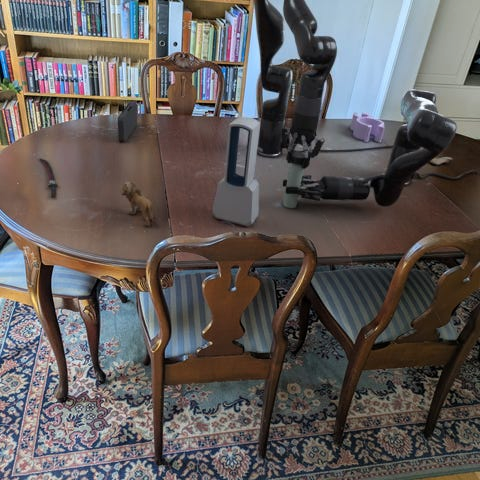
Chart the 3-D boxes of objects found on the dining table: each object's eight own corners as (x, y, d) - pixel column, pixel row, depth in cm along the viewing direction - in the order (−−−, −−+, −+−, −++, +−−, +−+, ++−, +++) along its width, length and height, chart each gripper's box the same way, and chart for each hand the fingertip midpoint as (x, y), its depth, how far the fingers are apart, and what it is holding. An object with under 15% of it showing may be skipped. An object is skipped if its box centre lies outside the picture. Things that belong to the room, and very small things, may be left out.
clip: (343, 126, 223) (346, 112, 219) (367, 127, 225) (371, 113, 221) (360, 142, 206) (364, 127, 202) (386, 142, 209) (390, 127, 205)
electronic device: (258, 217, 142) (270, 121, 125) (250, 229, 135) (262, 130, 119) (220, 208, 144) (227, 113, 128) (210, 219, 138) (217, 120, 122)
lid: (307, 161, 144) (309, 154, 142) (301, 166, 140) (303, 159, 139) (293, 157, 145) (295, 150, 144) (287, 161, 142) (288, 154, 140)
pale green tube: (289, 200, 153) (298, 154, 144) (298, 206, 150) (308, 159, 142) (280, 203, 151) (288, 156, 142) (289, 209, 148) (298, 161, 139)
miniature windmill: (295, 130, 212) (306, 61, 195) (276, 127, 213) (286, 58, 196) (297, 124, 219) (308, 57, 203) (279, 121, 220) (288, 54, 204)
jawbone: (444, 169, 189) (445, 165, 188) (396, 154, 200) (397, 150, 198) (451, 162, 195) (453, 157, 194) (405, 147, 205) (406, 143, 204)
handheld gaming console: (131, 122, 200) (130, 99, 195) (137, 123, 200) (136, 100, 195) (117, 142, 181) (116, 117, 175) (124, 142, 181) (123, 117, 176)
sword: (61, 197, 141) (61, 193, 140) (50, 198, 139) (50, 194, 139) (49, 160, 164) (48, 156, 163) (39, 160, 163) (39, 157, 162)
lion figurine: (118, 210, 138) (116, 182, 133) (132, 204, 141) (131, 177, 137) (151, 229, 130) (150, 201, 126) (165, 223, 134) (165, 195, 129)
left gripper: (279, 106, 135) (271, 161, 144) (323, 120, 128) (311, 176, 137) (292, 102, 140) (283, 155, 149) (335, 114, 133) (323, 169, 143)
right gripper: (332, 168, 153) (281, 166, 151) (345, 187, 141) (290, 185, 139) (328, 188, 157) (278, 187, 155) (340, 209, 145) (287, 207, 143)
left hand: (297, 165), depth 143 cm, fingers closed on lid, 4 cm apart
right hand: (284, 186), depth 147 cm, fingers closed on pale green tube, 4 cm apart
